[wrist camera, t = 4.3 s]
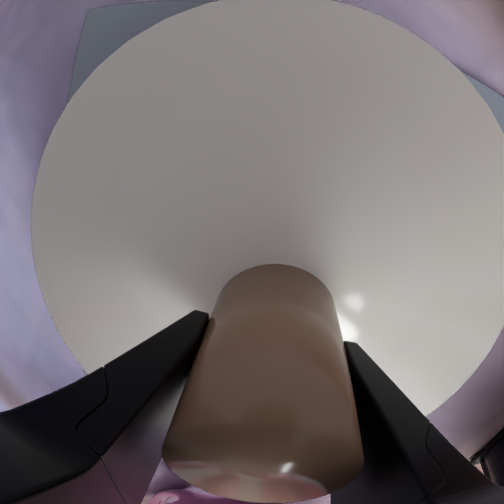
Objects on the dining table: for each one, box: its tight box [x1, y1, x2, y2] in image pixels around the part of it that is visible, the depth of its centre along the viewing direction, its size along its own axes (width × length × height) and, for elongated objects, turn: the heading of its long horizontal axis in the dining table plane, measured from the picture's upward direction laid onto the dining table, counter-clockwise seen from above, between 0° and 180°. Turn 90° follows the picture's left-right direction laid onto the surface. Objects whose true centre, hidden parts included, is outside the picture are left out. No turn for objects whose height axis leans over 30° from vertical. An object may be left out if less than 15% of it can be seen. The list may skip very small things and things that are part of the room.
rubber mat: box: [68, 0, 504, 375], centre depth 11 cm, size 19×19×1 cm
